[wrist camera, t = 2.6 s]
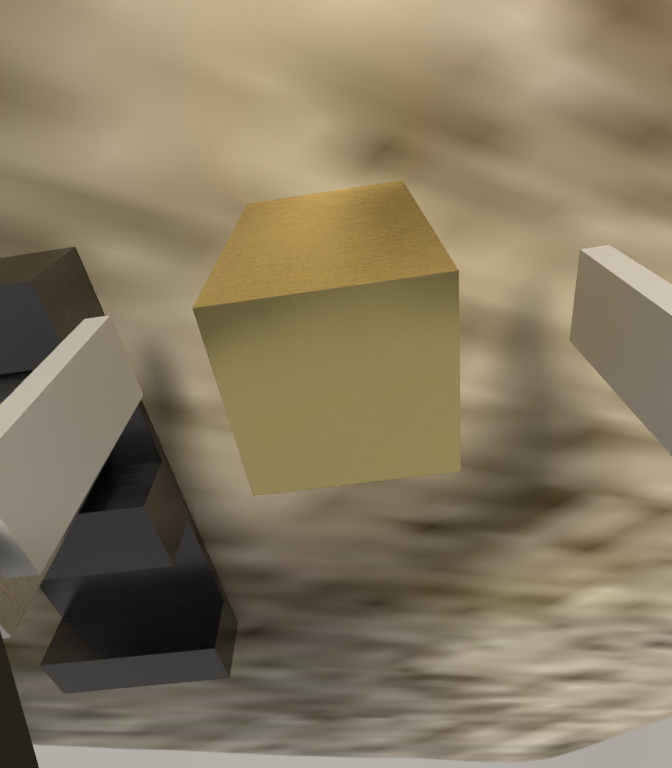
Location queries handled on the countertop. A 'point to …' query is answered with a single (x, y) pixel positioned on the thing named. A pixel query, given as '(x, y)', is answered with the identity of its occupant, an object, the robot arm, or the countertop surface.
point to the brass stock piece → (336, 340)
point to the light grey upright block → (13, 595)
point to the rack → (116, 524)
